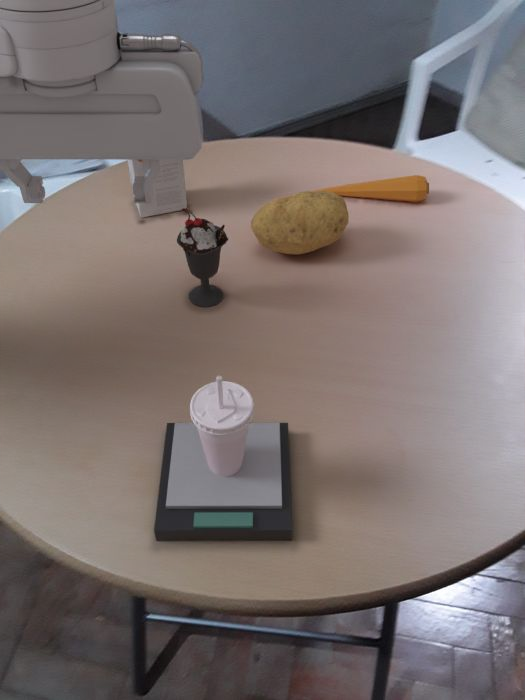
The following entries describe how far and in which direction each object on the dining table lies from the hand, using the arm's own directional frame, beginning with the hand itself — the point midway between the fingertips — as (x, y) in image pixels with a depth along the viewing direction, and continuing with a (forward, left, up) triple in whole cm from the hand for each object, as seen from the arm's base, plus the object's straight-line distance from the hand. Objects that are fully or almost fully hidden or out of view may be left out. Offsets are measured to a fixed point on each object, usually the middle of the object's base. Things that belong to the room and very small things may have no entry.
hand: (90, 199), depth 59 cm
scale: (+11, -8, -31) cm, 34 cm away
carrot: (+34, +51, -31) cm, 68 cm away
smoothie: (+11, -7, -29) cm, 31 cm away
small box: (-2, +48, -31) cm, 57 cm away
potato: (+21, +36, -31) cm, 52 cm away
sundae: (+7, +24, -31) cm, 40 cm away
